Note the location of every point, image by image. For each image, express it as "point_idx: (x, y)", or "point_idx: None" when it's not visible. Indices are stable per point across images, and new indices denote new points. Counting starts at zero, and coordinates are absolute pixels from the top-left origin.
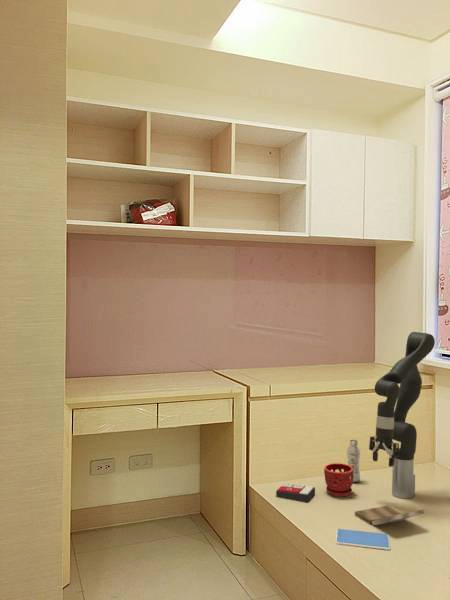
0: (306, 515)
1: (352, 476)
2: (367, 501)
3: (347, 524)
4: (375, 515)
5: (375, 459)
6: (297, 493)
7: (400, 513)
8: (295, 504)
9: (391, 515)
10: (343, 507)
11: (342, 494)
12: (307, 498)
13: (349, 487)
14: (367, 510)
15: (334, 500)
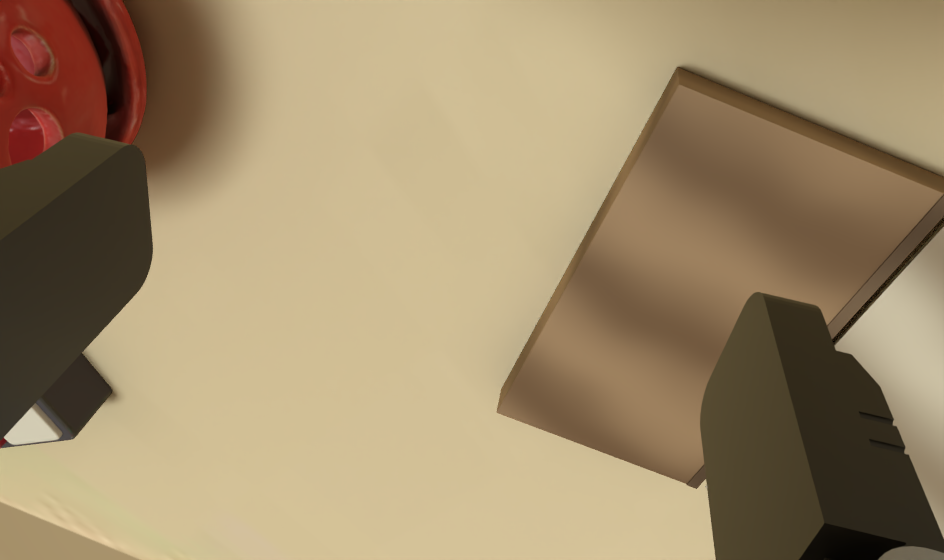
0: (284, 540)
1: (2, 111)
2: (380, 19)
3: (553, 525)
4: (682, 386)
5: (118, 258)
6: (6, 443)
7: (907, 199)
8: (102, 457)
9: (824, 306)
10: (334, 315)
11: (132, 142)
12: (89, 418)
13: (95, 83)
14: (567, 336)
15: (171, 235)
